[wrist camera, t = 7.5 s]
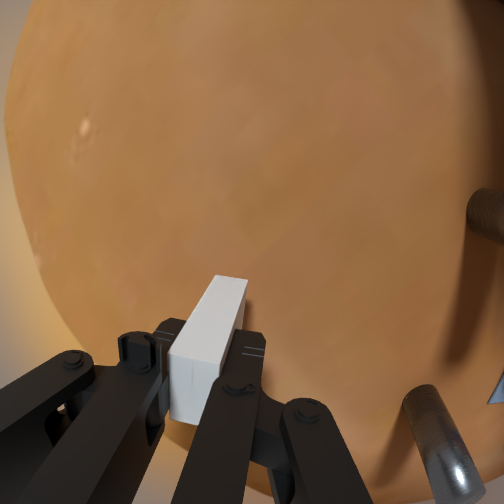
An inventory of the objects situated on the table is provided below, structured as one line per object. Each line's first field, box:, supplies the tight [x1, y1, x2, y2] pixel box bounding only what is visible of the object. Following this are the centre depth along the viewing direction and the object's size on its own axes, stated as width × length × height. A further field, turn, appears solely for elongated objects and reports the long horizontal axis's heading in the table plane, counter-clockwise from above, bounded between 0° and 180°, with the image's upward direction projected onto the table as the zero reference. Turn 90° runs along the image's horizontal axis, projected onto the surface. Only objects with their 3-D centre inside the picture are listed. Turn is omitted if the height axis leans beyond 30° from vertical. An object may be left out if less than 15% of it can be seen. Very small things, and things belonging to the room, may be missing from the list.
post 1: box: [402, 384, 486, 504], centre depth 13 cm, size 3×3×9 cm
